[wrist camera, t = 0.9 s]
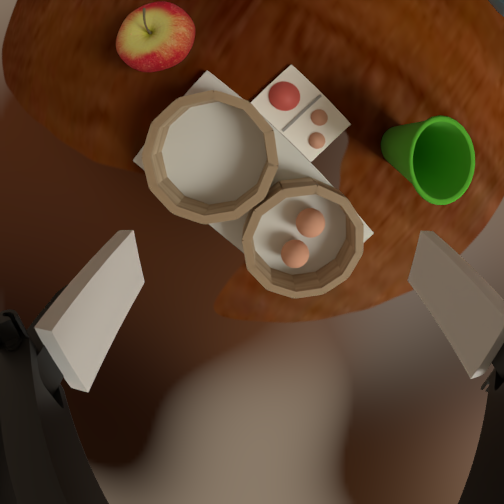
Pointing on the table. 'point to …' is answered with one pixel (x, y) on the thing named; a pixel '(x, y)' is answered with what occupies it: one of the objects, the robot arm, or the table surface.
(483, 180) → the table surface
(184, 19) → the apple
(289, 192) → the ring
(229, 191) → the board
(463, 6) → the table surface
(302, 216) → the ball
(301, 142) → the card
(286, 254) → the ball
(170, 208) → the ring
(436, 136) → the cup
